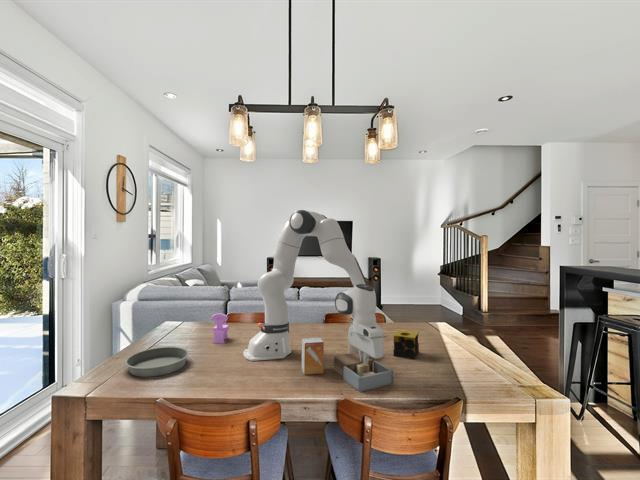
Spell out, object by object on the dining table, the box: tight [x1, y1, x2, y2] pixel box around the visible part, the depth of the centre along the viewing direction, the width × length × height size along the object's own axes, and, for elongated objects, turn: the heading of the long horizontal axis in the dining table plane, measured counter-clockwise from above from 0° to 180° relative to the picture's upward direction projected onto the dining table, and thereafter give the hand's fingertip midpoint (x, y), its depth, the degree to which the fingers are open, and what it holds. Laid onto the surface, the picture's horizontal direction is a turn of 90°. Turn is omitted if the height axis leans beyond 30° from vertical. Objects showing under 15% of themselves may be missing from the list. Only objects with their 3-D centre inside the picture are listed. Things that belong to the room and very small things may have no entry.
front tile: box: [362, 371, 375, 376], centre depth 129 cm, size 4×4×2 cm
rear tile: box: [356, 363, 369, 377], centre depth 134 cm, size 4×4×2 cm
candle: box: [392, 329, 420, 360], centre depth 160 cm, size 10×10×10 cm
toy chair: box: [211, 313, 229, 344], centre depth 179 cm, size 8×9×15 cm
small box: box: [301, 336, 325, 376], centre depth 140 cm, size 8×6×13 cm
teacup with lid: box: [347, 342, 359, 354], centre depth 161 cm, size 12×9×12 cm
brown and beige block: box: [333, 352, 374, 377], centre depth 140 cm, size 12×10×6 cm
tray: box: [343, 360, 395, 393], centre depth 130 cm, size 15×12×5 cm
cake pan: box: [124, 346, 190, 378], centre depth 145 cm, size 25×25×4 cm
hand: (364, 362), depth 133 cm, fingers closed
